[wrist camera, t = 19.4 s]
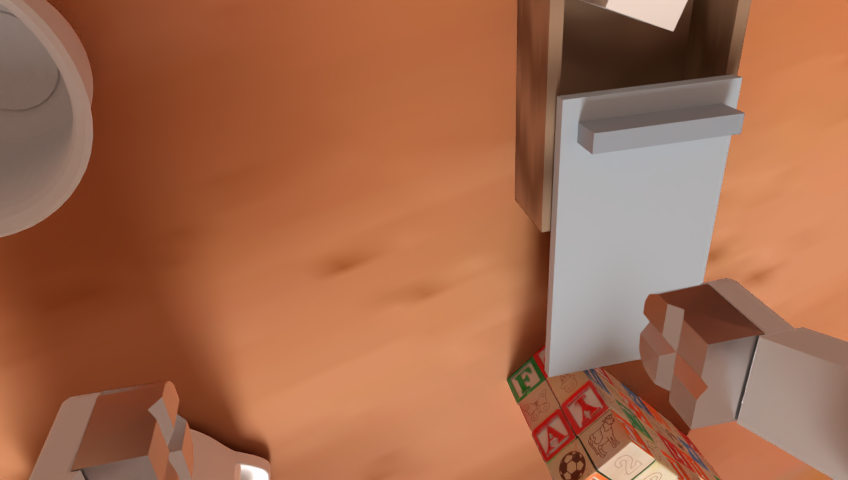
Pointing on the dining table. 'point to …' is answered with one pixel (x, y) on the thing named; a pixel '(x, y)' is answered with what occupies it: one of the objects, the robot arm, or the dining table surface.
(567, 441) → the stack of blocks
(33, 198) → the teacup
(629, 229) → the lid
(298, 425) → the dining table surface
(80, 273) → the dining table surface
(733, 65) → the box
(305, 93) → the dining table surface
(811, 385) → the robot arm
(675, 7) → the cube
